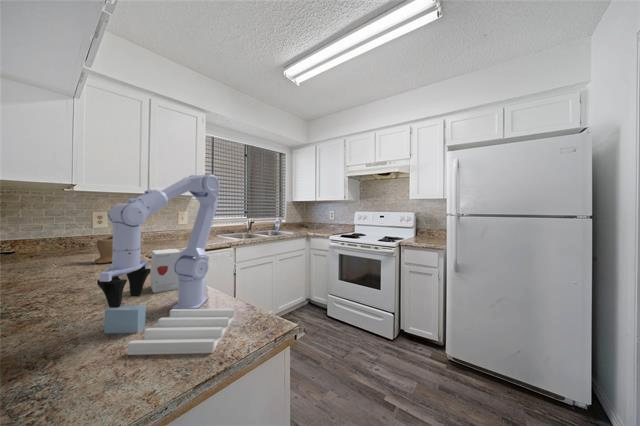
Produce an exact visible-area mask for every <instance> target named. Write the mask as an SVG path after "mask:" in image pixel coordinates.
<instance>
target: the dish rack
mask: <svg viewBox="0 0 640 426" xmlns="http://www.w3.org/2000/svg"><path fill="white" fill-rule="evenodd" d="M235 311H236V310H235V308H197V309H170V310H169V317H160V318H159V319H158V320H157V327H147V328H146V329H144V338H143V339H141V340H140V339H139V340H136V339H135V340H134V339H133V340H130V341H129V342H128V343H127V352H126V353H127V354H126V355H127V356H131V355H132V356H135V355H140V356H141V355H142V356H145V355H181V354H182V355H183V354H185V355H186V354H191V355H192V354H213V353H214V352H215V350H216V348H217V347H218V345H219V343H220V341H221V340H222V338H223V337H224V335H225V334H226V332H227V330H228V329H229V327H230V326H231V324H232V322H233V321H234V318H235V313H236V312H235Z"/></svg>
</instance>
